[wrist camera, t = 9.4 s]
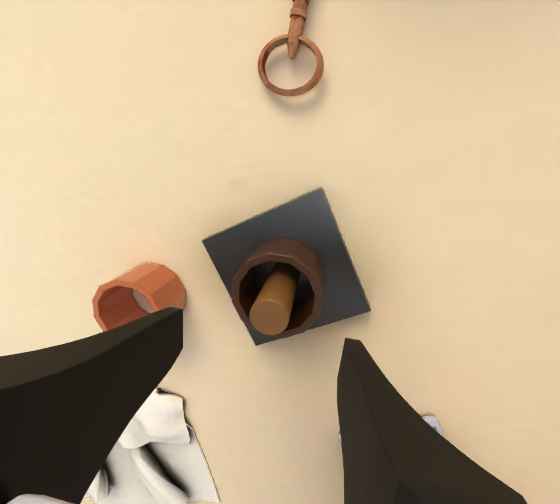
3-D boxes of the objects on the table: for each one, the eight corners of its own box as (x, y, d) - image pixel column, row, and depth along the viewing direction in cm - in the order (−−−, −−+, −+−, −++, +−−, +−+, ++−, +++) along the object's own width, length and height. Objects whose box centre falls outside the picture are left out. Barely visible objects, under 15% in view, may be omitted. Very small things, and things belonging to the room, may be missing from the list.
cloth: (195, 374, 25) (181, 395, 23) (228, 541, 31) (220, 571, 29) (7, 366, 28) (-21, 383, 26) (69, 516, 34) (51, 541, 32)
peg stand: (368, 303, 20) (389, 369, 14) (259, 337, 23) (231, 407, 16) (322, 186, 18) (319, 197, 12) (208, 236, 21) (152, 268, 14)
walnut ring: (334, 295, 19) (335, 322, 16) (267, 317, 21) (255, 347, 17) (304, 226, 18) (299, 240, 15) (235, 254, 20) (216, 273, 16)
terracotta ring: (196, 310, 23) (174, 335, 19) (147, 328, 24) (117, 355, 21) (165, 253, 22) (135, 269, 18) (115, 275, 23) (79, 294, 20)
